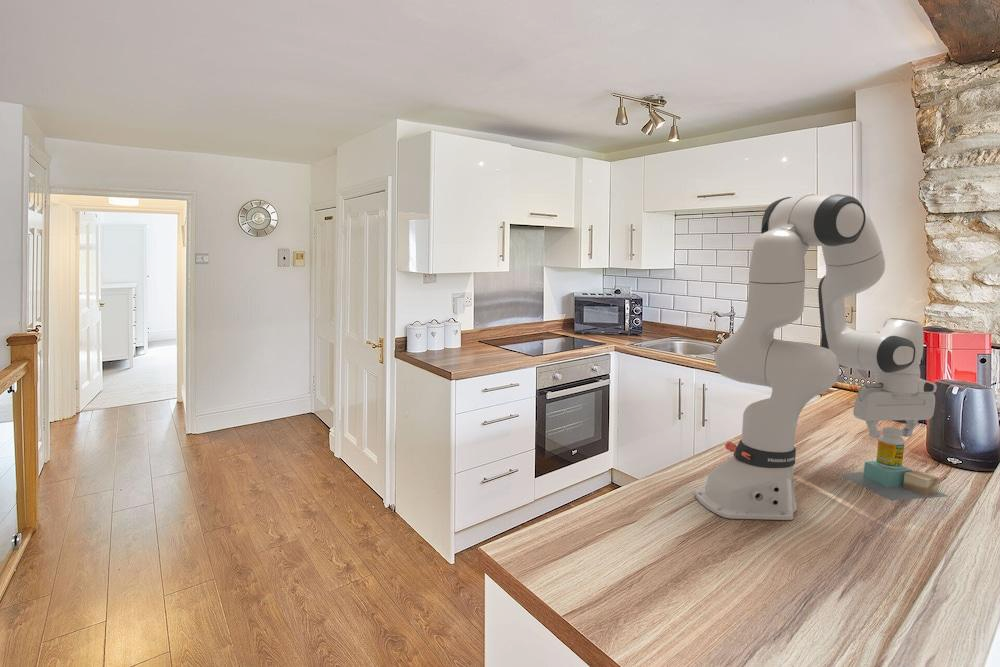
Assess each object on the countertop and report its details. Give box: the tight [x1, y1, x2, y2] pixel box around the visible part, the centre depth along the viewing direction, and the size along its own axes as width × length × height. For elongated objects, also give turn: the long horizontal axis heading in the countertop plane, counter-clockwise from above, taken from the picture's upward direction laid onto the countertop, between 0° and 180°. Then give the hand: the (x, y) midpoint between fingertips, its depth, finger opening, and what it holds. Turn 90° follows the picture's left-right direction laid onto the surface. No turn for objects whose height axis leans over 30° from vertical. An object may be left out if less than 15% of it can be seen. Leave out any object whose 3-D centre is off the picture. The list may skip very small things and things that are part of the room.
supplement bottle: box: [875, 426, 905, 469], centre depth 133 cm, size 5×5×10 cm
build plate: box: [838, 471, 949, 502], centre depth 132 cm, size 16×16×1 cm
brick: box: [903, 469, 941, 496], centre depth 128 cm, size 5×5×4 cm
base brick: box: [863, 460, 914, 487], centre depth 134 cm, size 7×7×4 cm
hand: (890, 436), depth 132 cm, fingers open, 8 cm apart
